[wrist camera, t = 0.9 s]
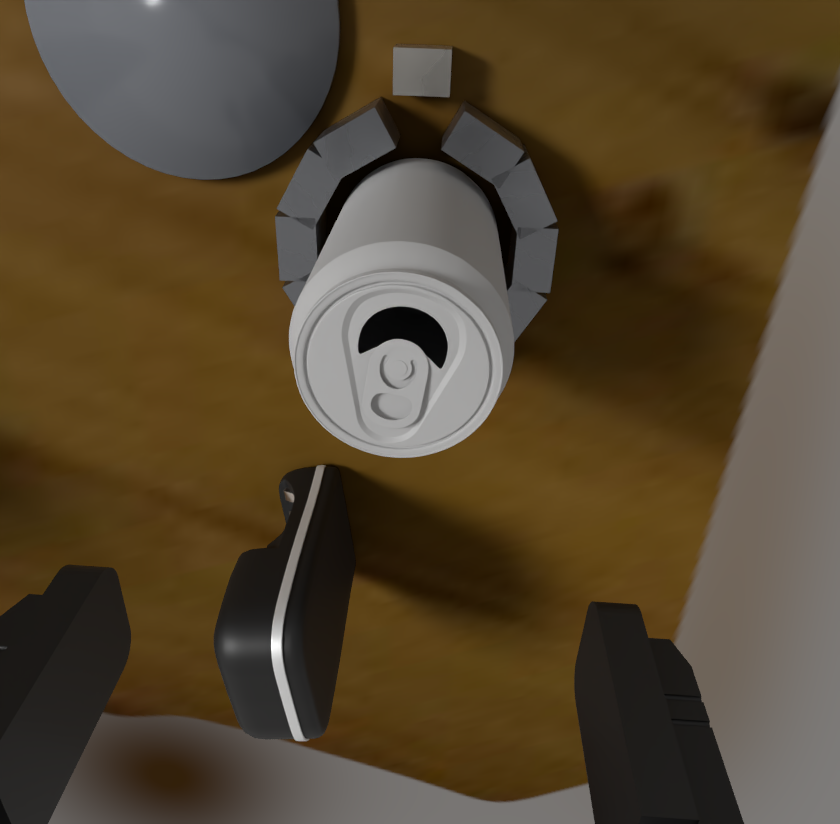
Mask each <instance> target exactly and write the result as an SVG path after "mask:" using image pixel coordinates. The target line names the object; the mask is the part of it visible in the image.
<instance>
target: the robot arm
mask: <svg viewBox="0 0 840 824" xmlns="http://www.w3.org/2000/svg"><path fill="white" fill-rule="evenodd" d="M130 644H131V630H130V625H129V621H128V617H127V613H126V608H125V604H124V600H123V596H122V591H121V587H120V583H119V579H118V575H117V573H116V571H115V570H114V569H113V568H109V567H94V566H79V565H66V566H64V567H63V568H62V569H60V571H59V572H58V573H57V575H56V576H55V577H54V579H53V580H52V582H51V583H50V585H49V586H48V588H47V589H46V591H45V592H44V594H43V595H33V594H29V595H27V596H26V597H25V598H23V599H22V600H21V601H19V602H18V603H17V604H16V605H14V606H13V607H12V608H10V609H9V610H8V611H7V612H5V613H4V614H3V615H1V616H0V824H48V822H49V820H50V818H51V816H52V814H53V812H54V810H55V808H56V806H57V804H58V802H59V800H60V798H61V796H62V794H63V792H64V790H65V787H66V785H67V783H68V781H69V779H70V777H71V775H72V773H73V771H74V769H75V767H76V765H77V763H78V761H79V759H80V757H81V755H82V753H83V751H84V749H85V747H86V745H87V743H88V741H89V739H90V737H91V734H92V732H93V730H94V728H95V726H96V724H97V722H98V720H99V718H100V716H101V714H102V712H103V710H104V708H105V706H106V704H107V702H108V700H109V698H110V696H111V694H112V692H113V690H114V688H115V686H116V684H117V682H118V680H119V678H120V675H121V673H122V671H123V669H124V667H125V665H126V662H127V659H128V655H129V651H130ZM575 700H576V707H577V713H578V719H579V726H580V732H581V738H582V745H583V751H584V757H585V764H586V770H587V776H588V783H589V788H590V795H591V802H592V808H593V814H594V820H595V824H744V822H743V820H742V817H741V814H740V811H739V808H738V805H737V802H736V799H735V796H734V793H733V790H732V787H731V784H730V781H729V778H728V775H727V772H726V769H725V766H724V763H723V760H722V757H721V754H720V751H719V748H718V745H717V742H716V739H715V736H714V733H713V730H712V728H710V725H709V722H710V721H709V718H708V715H707V712H706V709H705V706H704V703H703V702H702V701H701V694H700V691H699V688H698V685H697V682H696V679H695V676H694V673H693V670H692V667H691V665H690V664H689V663H688V662H687V660H686V659H685V658H684V657H683V655H682V654H681V653H680V652H679V650H678V649H677V648H676V647H675V645H674V644H673V643H672V642H671V640H669V639H655V638H648V635H647V632H646V628H645V625H644V621H643V618H642V614H641V611H640V609H639V607H638V606H637V605H636V604H621V603H606V602H591V603H590V605H589V607H588V611H587V615H586V620H585V624H584V629H583V633H582V638H581V642H580V646H579V651H578V655H577V660H576V666H575Z"/></svg>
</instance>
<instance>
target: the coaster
mask: <svg viewBox="0 0 840 824" xmlns="http://www.w3.org/2000/svg"><path fill="white" fill-rule="evenodd" d="M24 1H25V7H26V13H27V17H28V20H29V24H30V27H31V31H32V35H33V38H34V40H35V43H36V45H37V48H38V50H39V53H40V56H41V58H42V60H43V62H44V64H45V66H46V68H47V70H48V72H49V74H50V76H51V78H52V79H53V81H54V83H55V84H56V86H57V87H58V89H59V90H60V92H61V93H62V95H63V96H64V98H65V99H66V101H67V102H68V103H69V104H70V106H71V107H72V108H73V109H74V111H75V112H76V113H77V114H78V116H79V117H80V118H81V119H82V120H83V121H84V122H85V123H86V124H87V125H88V126H89V127H90V128H91V129H92V130H93V131H94V132H95V133H96V134H98V135H99V136H100V137H101V138H102V139H104V140H105V141H106V142H107V143H108V144H110V145H111V146H112V147H114V148H115V149H117V150H118V151H120V152H121V153H123V154H124V155H126V156H127V157H129V158H131V159H133V160H135V161H137V162H139V163H141V164H143V165H145V166H147V167H150V168H152V169H155V170H158V171H160V172H163V173H166V174H170V175H174V176H179V177H183V178H191V179H200V180H206V179H224V178H230V177H236V176H240V175H243V174H246V173H249V172H252V171H255V170H257V169H259V168H261V167H263V166H265V165H267V164H269V163H271V162H272V161H274V160H275V159H277V158H278V157H280V156H281V155H283V154H284V153H285V152H286V151H288V150H289V149H290V148H291V147H292V146H293V145H294V144H295V143H296V142H297V141H298V140H299V139H300V138H301V137H302V136H303V135H304V133H305V132H306V131H307V130H308V129H309V127H310V126H311V125H312V124H313V122H314V120H315V119H316V117H317V115H318V114H319V112H320V110H321V109H322V107H323V105H324V103H325V100H326V98H327V96H328V93H329V91H330V89H331V86H332V82H333V79H334V75H335V72H336V68H337V62H338V55H339V49H340V28H341V22H340V10H339V0H24Z"/></svg>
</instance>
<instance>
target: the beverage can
mask: <svg viewBox="0 0 840 824" xmlns="http://www.w3.org/2000/svg"><path fill="white" fill-rule="evenodd" d="M289 348H290V355H291V360H292V364H293V367H294V372H295V378H296V382H297V386H298V389H299V392H300V394H301V396H302V399H303V401H304V402H305V404H306V406H307V408H308V409H309V411H310V412H311V413H312V415H313V416H314V417H315V418H316V420H317V421H318V422H319V423H320V424H321V425H322V426H323V427H324V428H325V429H326V430H328V431H329V432H330V433H331V434H333V435H334V436H335V437H337V438H338V439H340V440H341V441H343V442H345V443H346V444H348V445H350V446H352V447H354V448H357V449H359V450H362V451H365V452H368V453H371V454H375V455H380V456H386V457H395V458H408V457H419V456H425V455H429V454H433V453H436V452H440V451H442V450H445V449H447V448H450V447H452V446H454V445H456V444H457V443H459V442H461V441H462V440H464V439H465V438H467V437H468V436H469V435H471V434H472V433H473V432H474V431H475V430H476V429H477V428H478V427H479V426H480V425H481V424H482V423H483V422H484V421H485V419H486V418H487V417H488V415H489V414H490V412H491V410H492V409H493V407H494V405H495V403H496V401H497V399H498V397H499V396H500V394H501V393H502V391H503V389H504V387H505V385H506V383H507V380H508V378H509V375H510V372H511V368H512V364H513V358H514V334H513V327H512V321H511V314H510V307H509V301H508V294H507V288H506V281H505V275H504V268H503V262H502V255H501V249H500V242H499V236H498V229H497V223H496V219H495V215H494V212H493V210H492V207H491V205H490V203H489V201H488V199H487V197H486V196H485V194H484V193H483V191H482V190H481V189H480V187H479V186H478V185H477V184H476V183H474V182H473V181H472V180H471V179H470V178H469V177H468V176H467V175H466V174H464V173H463V172H462V171H460V170H458V169H457V168H455V167H453V166H451V165H448V164H446V163H443V162H440V161H437V160H432V159H425V158H408V159H401V160H397V161H393V162H390V163H388V164H385V165H383V166H381V167H379V168H377V169H375V170H374V171H372V172H371V173H369V174H368V175H367V176H366V177H364V178H363V179H362V180H361V181H360V182H359V183H358V184H357V185H356V187H355V188H354V189H353V190H352V192H351V193H350V195H349V196H348V198H347V200H346V202H345V204H344V206H343V208H342V210H341V212H340V214H339V216H338V218H337V220H336V222H335V224H334V226H333V228H332V231H331V233H330V235H329V237H328V239H327V241H326V243H325V245H324V247H323V249H322V251H321V253H320V255H319V257H318V259H317V261H316V263H315V265H314V267H313V269H312V272H311V274H310V276H309V278H308V280H307V282H306V284H305V286H304V288H303V290H302V292H301V294H300V296H299V298H298V300H297V303H296V305H295V308H294V310H293V314H292V318H291V323H290V328H289Z"/></svg>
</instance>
